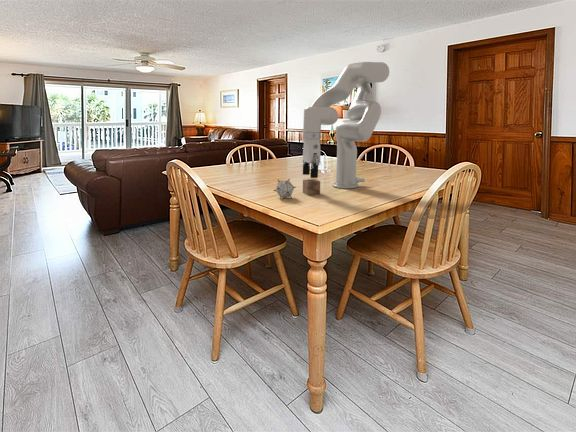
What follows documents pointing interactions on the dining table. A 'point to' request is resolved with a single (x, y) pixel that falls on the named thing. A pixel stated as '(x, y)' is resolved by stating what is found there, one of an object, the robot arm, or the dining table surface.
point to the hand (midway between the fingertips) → (309, 176)
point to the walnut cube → (311, 187)
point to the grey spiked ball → (284, 188)
